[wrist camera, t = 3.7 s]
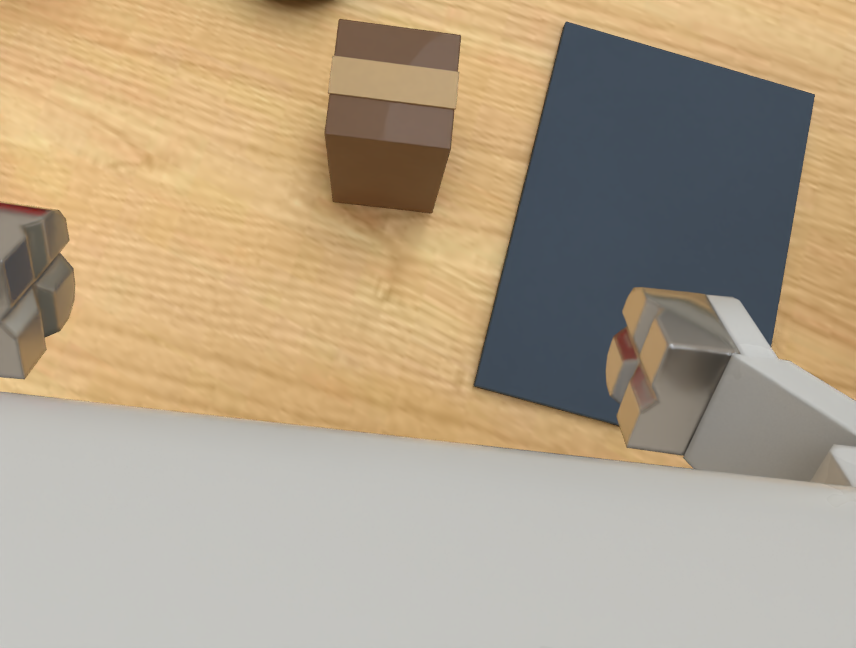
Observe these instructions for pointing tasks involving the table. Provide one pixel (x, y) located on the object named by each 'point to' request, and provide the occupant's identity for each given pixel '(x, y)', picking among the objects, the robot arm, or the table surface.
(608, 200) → the desk mat
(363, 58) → the box
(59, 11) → the table surface
